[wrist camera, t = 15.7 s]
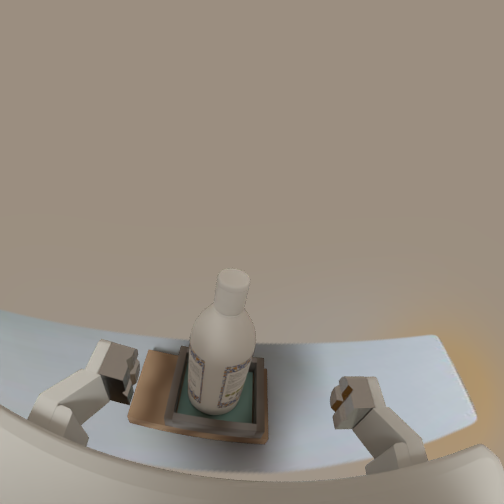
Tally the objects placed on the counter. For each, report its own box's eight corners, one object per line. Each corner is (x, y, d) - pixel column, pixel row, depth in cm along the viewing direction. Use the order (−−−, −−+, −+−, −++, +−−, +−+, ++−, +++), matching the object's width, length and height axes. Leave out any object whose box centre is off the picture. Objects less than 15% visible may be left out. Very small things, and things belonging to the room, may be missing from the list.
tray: (129, 422, 31) (124, 407, 28) (149, 357, 41) (147, 338, 39) (264, 444, 32) (272, 431, 30) (264, 376, 42) (270, 359, 40)
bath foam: (243, 382, 38) (276, 266, 28) (233, 422, 32) (268, 311, 22) (196, 369, 39) (208, 249, 29) (180, 407, 33) (183, 289, 23)
